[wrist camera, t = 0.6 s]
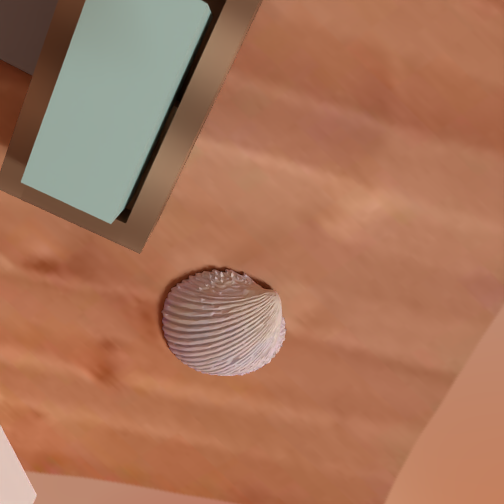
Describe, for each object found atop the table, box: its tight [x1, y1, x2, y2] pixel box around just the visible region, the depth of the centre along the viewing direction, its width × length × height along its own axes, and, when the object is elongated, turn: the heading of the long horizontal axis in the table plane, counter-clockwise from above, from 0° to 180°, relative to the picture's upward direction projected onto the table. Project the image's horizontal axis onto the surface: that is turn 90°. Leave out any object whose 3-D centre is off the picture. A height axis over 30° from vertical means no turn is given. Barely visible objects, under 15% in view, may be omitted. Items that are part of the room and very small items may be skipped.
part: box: [21, 0, 213, 224], centre depth 25 cm, size 12×5×5 cm, turn 152°
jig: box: [0, 0, 263, 254], centre depth 28 cm, size 18×9×7 cm, turn 152°
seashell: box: [162, 269, 286, 376], centre depth 37 cm, size 10×6×10 cm
